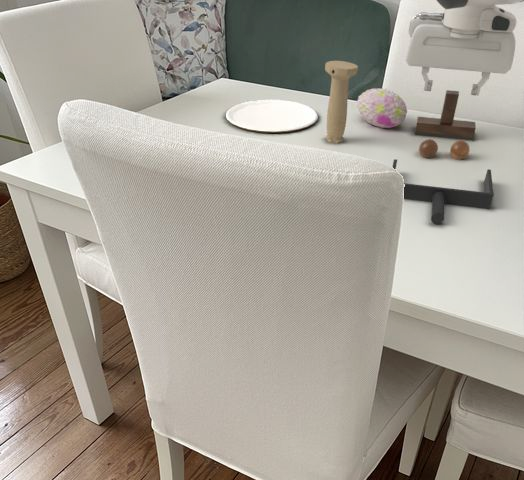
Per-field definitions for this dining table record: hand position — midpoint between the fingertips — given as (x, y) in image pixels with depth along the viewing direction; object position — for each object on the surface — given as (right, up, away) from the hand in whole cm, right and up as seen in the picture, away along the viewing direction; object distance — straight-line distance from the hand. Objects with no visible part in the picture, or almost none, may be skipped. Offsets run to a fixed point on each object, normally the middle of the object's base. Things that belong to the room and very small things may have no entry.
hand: (450, 92), depth 116 cm
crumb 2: (0, -14, -5) cm, 14 cm away
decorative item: (-12, -3, +11) cm, 17 cm away
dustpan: (-8, -27, -18) cm, 33 cm away
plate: (-36, 0, +13) cm, 39 cm away
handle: (-23, -10, +3) cm, 25 cm away
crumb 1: (-6, -13, -4) cm, 15 cm away
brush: (0, -7, +6) cm, 9 cm away
